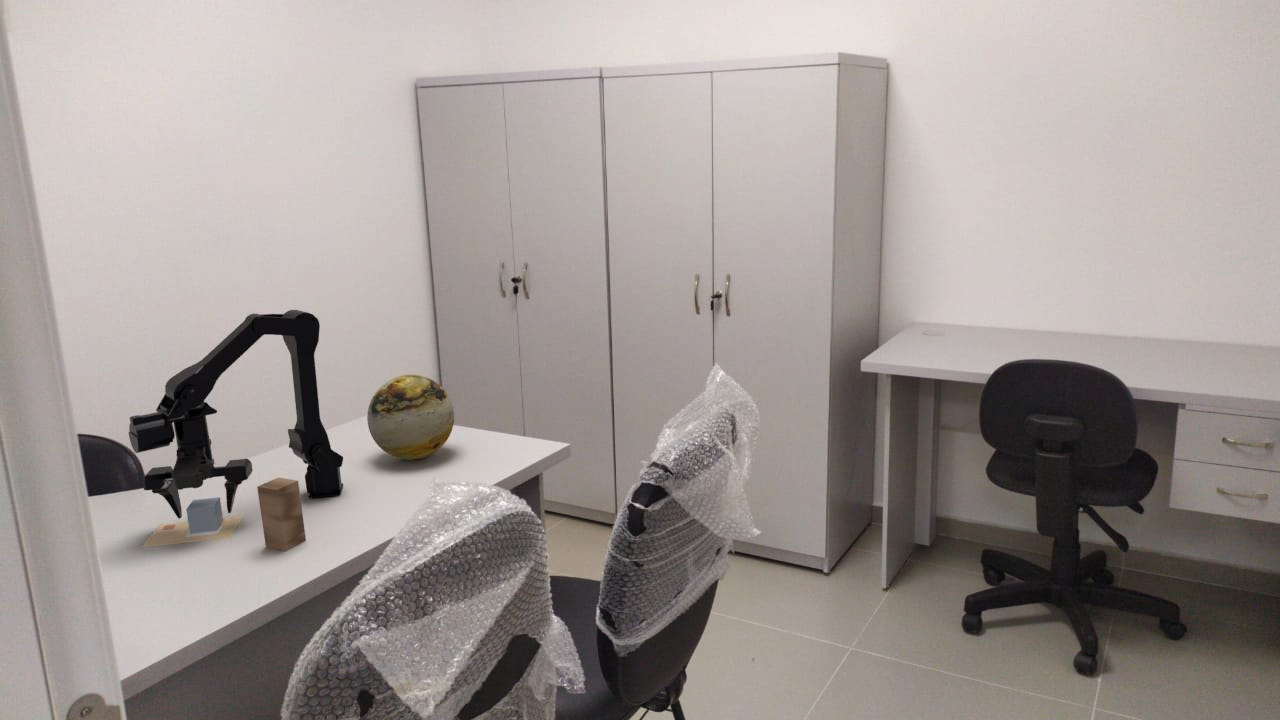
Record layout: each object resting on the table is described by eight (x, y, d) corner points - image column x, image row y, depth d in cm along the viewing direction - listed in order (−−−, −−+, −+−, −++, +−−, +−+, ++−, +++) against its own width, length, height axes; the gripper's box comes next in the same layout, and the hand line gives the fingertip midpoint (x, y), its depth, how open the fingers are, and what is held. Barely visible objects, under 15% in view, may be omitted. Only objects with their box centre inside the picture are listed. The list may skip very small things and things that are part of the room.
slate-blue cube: (223, 520, 185) (219, 497, 184) (217, 530, 180) (213, 506, 179) (196, 523, 184) (193, 500, 183) (190, 533, 179) (186, 509, 178)
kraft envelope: (243, 516, 187) (243, 515, 187) (230, 538, 176) (230, 537, 176) (158, 525, 184) (158, 524, 184) (140, 548, 173) (140, 547, 173)
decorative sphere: (356, 470, 211) (346, 386, 207) (396, 442, 230) (388, 365, 226) (436, 473, 207) (427, 387, 202) (470, 445, 226) (463, 366, 221)
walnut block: (286, 536, 176) (278, 477, 173) (305, 540, 174) (298, 480, 171) (265, 547, 171) (257, 486, 169) (285, 551, 169) (277, 489, 167)
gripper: (126, 458, 168) (140, 537, 172) (234, 447, 172) (246, 525, 175) (146, 439, 179) (159, 514, 183) (247, 430, 182) (258, 504, 186)
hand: (205, 515), depth 181 cm, fingers open, 9 cm apart
